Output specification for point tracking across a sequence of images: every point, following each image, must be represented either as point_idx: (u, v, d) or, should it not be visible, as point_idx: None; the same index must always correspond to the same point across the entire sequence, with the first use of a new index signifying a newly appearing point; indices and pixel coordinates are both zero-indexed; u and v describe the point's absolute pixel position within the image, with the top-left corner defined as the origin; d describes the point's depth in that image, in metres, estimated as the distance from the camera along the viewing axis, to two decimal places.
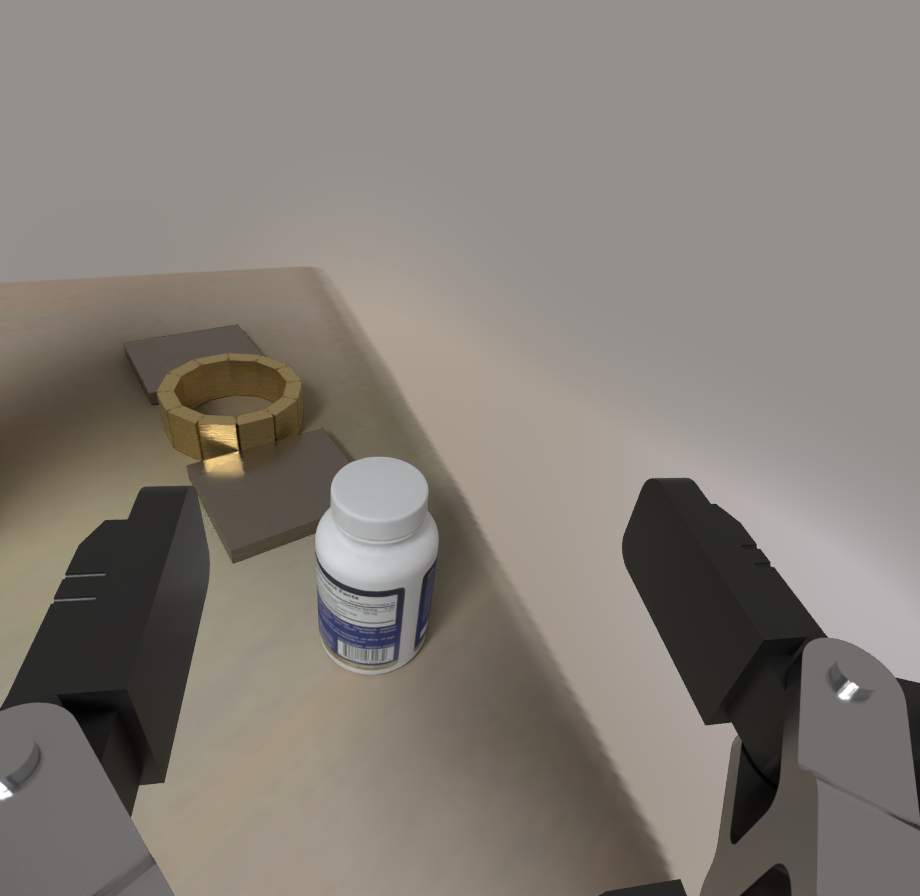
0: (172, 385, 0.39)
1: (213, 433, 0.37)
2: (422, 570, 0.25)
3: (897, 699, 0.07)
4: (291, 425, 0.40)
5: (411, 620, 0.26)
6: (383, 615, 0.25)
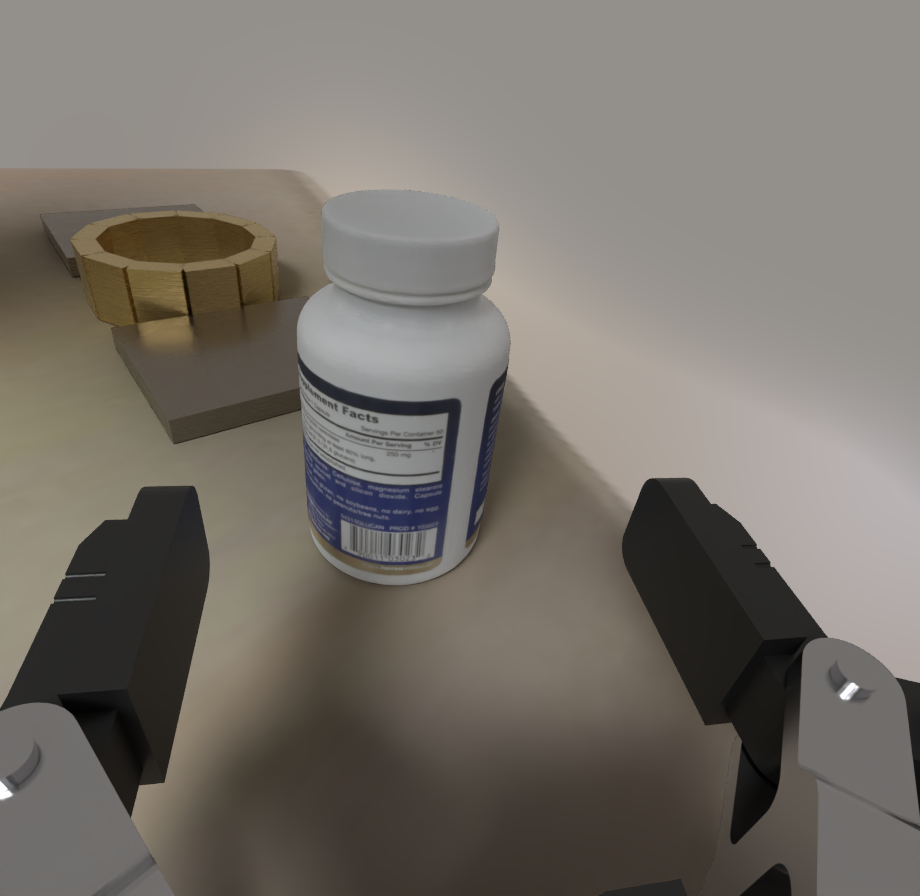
0: (95, 234, 0.28)
1: (150, 285, 0.26)
2: (490, 372, 0.14)
3: (897, 699, 0.07)
4: (262, 290, 0.29)
5: (466, 480, 0.15)
6: (423, 458, 0.14)
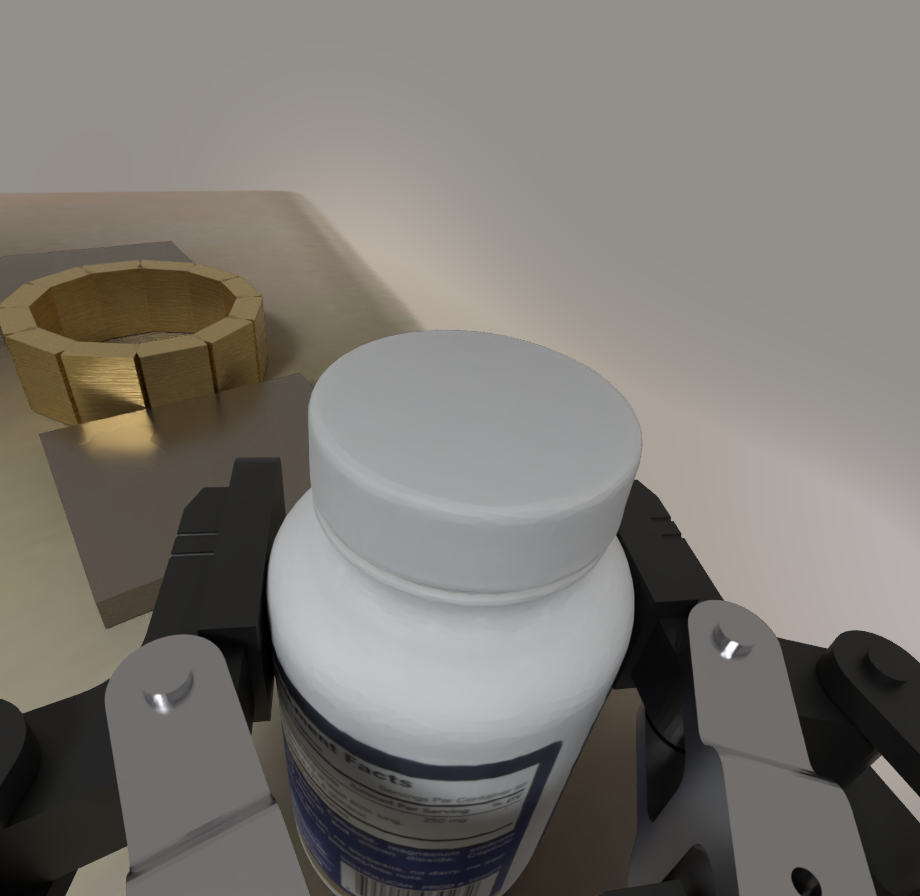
0: (29, 300, 0.22)
1: (93, 374, 0.20)
2: (613, 678, 0.08)
3: (774, 655, 0.08)
4: (244, 367, 0.23)
5: (550, 804, 0.09)
6: (486, 819, 0.08)
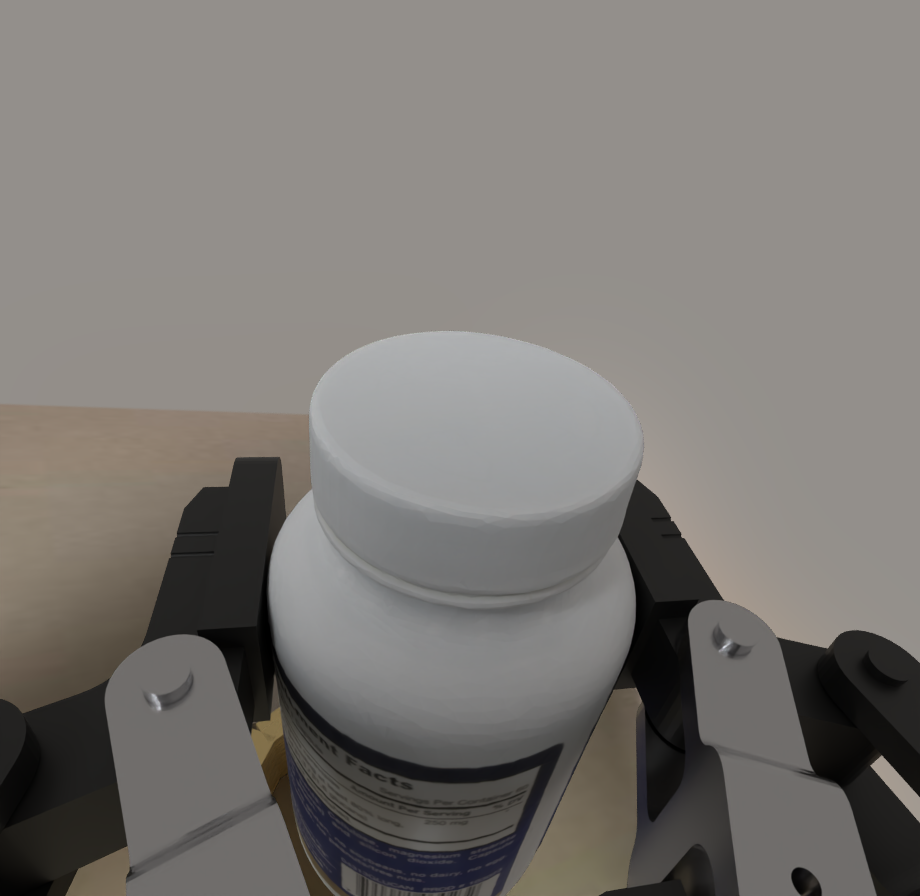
0: None
1: None
2: (614, 680, 0.08)
3: (774, 655, 0.08)
4: None
5: (551, 806, 0.09)
6: (488, 820, 0.08)
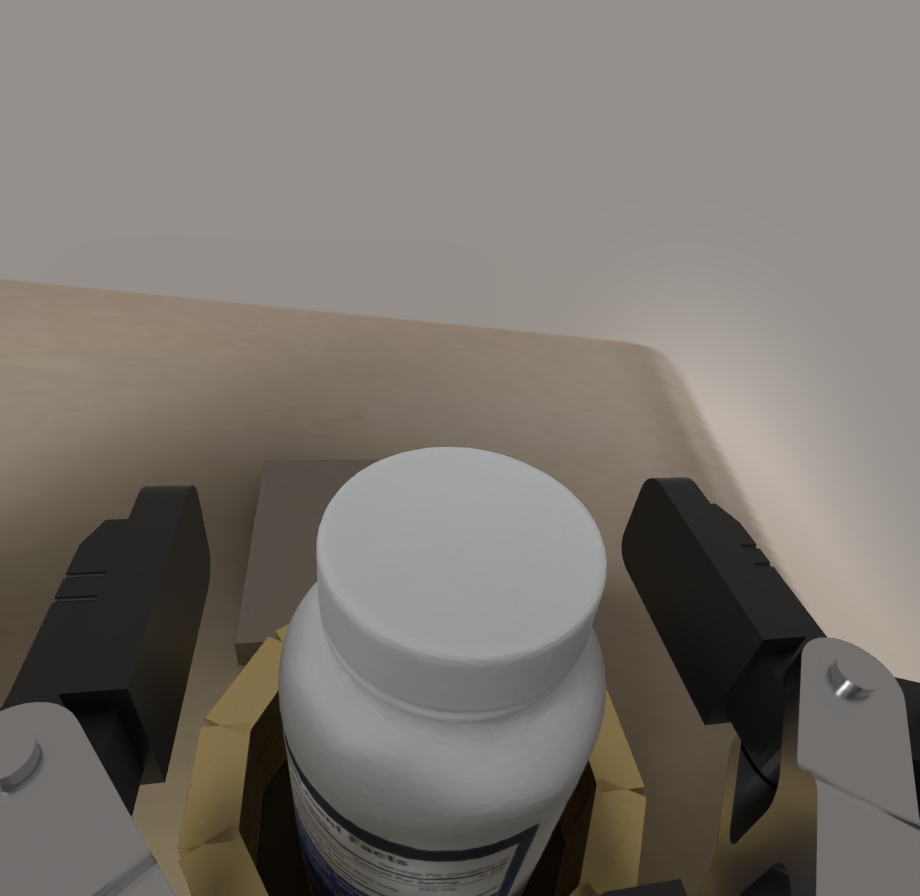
0: (260, 701, 0.13)
1: None
2: (584, 766, 0.09)
3: (896, 699, 0.07)
4: None
5: (533, 863, 0.10)
6: (474, 887, 0.09)
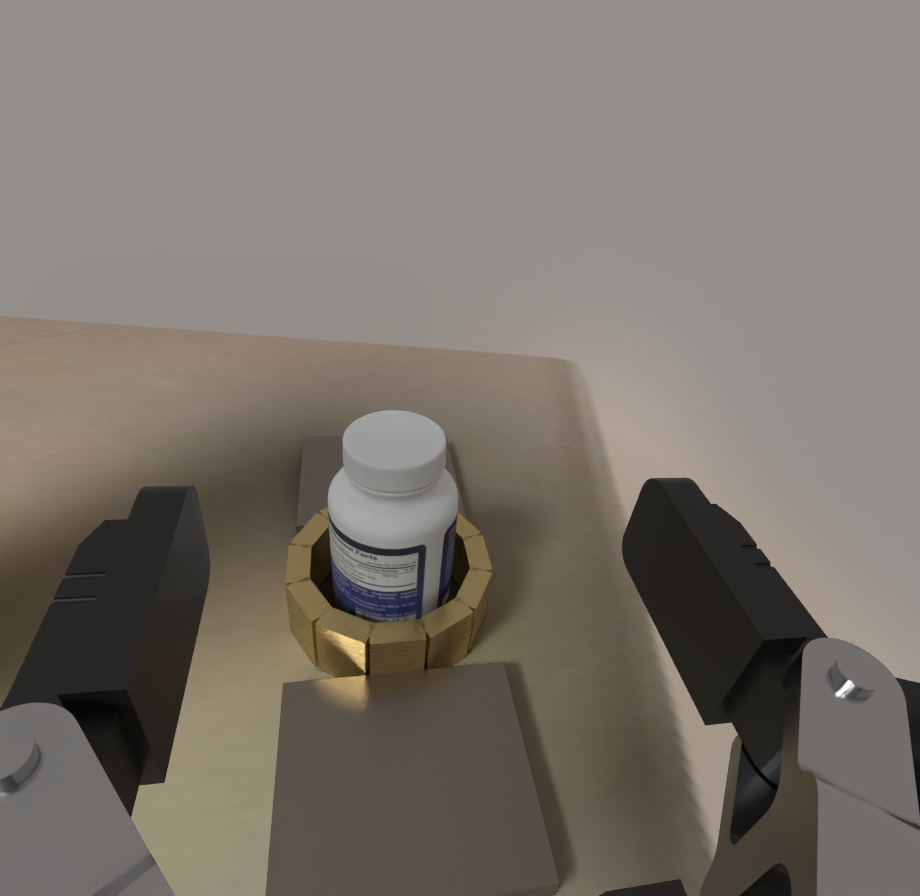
0: (314, 537, 0.27)
1: (333, 642, 0.23)
2: (443, 526, 0.23)
3: (897, 699, 0.07)
4: (456, 645, 0.25)
5: (433, 584, 0.25)
6: (404, 577, 0.23)
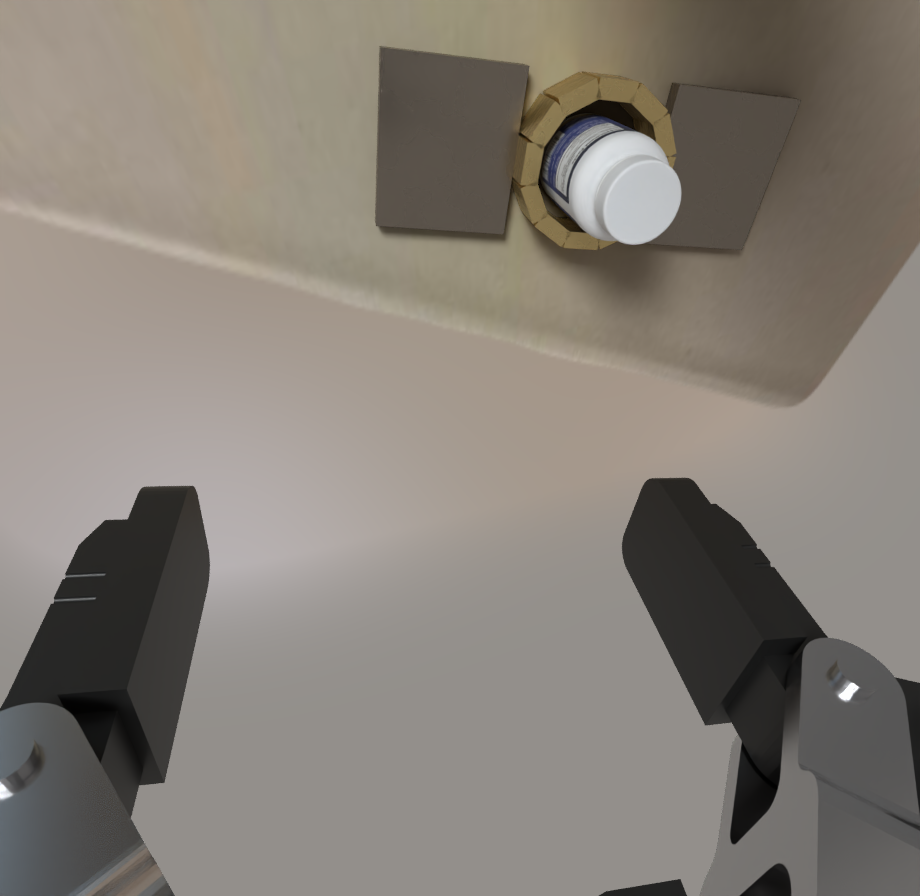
0: (640, 106, 0.32)
1: (541, 113, 0.32)
2: (577, 221, 0.32)
3: (897, 699, 0.07)
4: (521, 204, 0.36)
5: (557, 200, 0.34)
6: (560, 180, 0.32)
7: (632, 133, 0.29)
